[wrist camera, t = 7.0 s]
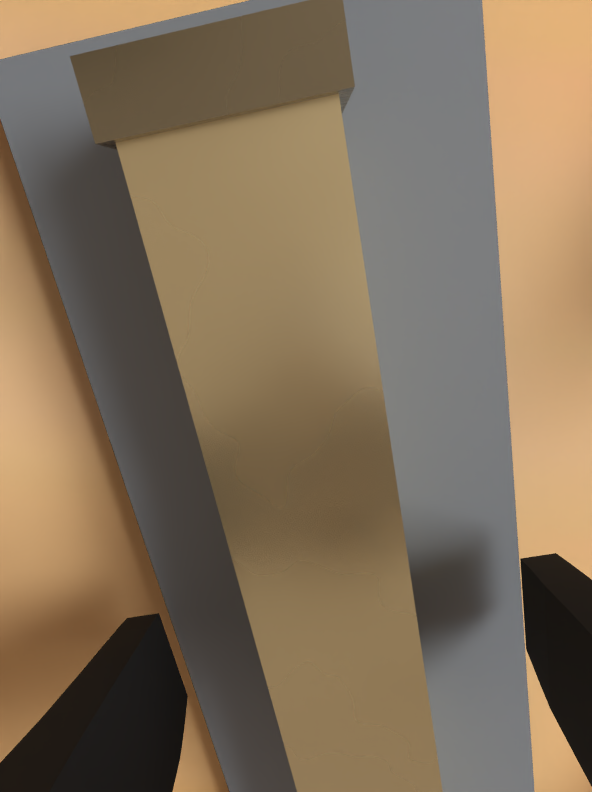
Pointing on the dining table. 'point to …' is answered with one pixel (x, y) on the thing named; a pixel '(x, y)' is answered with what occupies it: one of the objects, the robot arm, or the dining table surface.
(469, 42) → the mat
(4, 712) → the dining table surface
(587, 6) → the dining table surface
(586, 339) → the dining table surface
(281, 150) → the rail
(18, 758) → the robot arm
